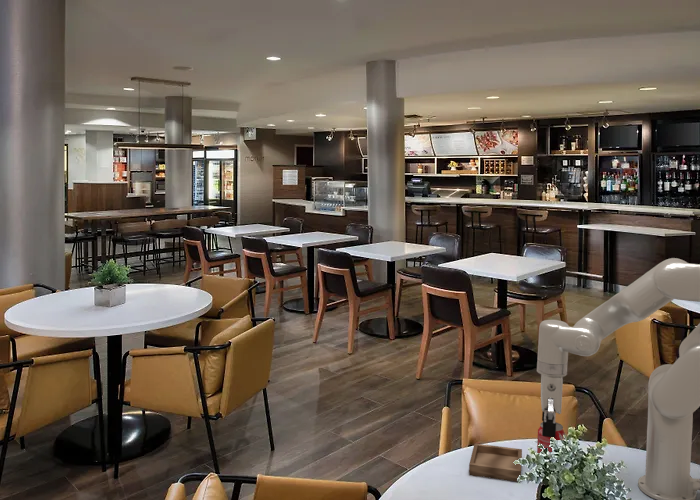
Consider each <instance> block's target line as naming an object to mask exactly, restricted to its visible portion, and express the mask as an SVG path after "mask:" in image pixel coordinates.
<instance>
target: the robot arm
mask: <svg viewBox="0 0 700 500" xmlns="http://www.w3.org/2000/svg"><path fill="white" fill-rule="evenodd" d="M673 300H679V301H687V302H696V303H700V263H699V264H698V263H689V262H687V261H685V259H684V260H683V259H680V258H677V257H676V258H675V257H671V258H670V257H669V258H668V259H665V260H663V261H661V262H659V263H658V264H656V265H655V266H654V267H652V268H651V269H650V270H648V271H646V272H645V273H644V274H643V275H641V276H640V277H639V278H637V279H636V280H635V281H633V282H632V283H630V284H629V285H627V286H626V287H625V288H623V289H622V290H620V291H619V292H617V293H616V294H615V295H613V296H611V297H610V298H609V299H608V300H606V301H605V302H603V303H602V304H600V305H598V306H597V307H595V308H594V309H592V311H590V312H588V313H587V314H586V315H584V316H583V317H581V318H580V319H579V320H578V321H576V323H575V324H573V326H570V325H569V324H568V323H567V322H565V321H562V320H558V319H545V320H542V321H541V322H540V323H539V327H538V328H539V329H538V344H537V345H538V346H537V362H536V372H537V373H538V374H539V375H540V403H541V411H542V414H541V421H542V422H543V430H542V435H543V436H545V437H554V438H555V434H556V423H557V422H556V417H557V416H556V415H557V414H558V415H560V414H562V403H563V381H564V380H563V378H564V377H566V376H567V375H568V362H569V361H568V360H569V353H570V354H573V355H578V356H582V357H590V356H593V355H595V354H596V353H597V352H598V351H599V349H600V347H601V343H602V340H604V339H606V338H607V337H608V336H610V335H612V334H613V333H614V332H615V331H617V330H619V329H620V328H623V327H624V326H625V325H629V324H631V323H637V322H641V321H644V320H646V319H648V317H651V315H653V314H654V313H655V312H656V313H657V311H658V310H660V309H661V308H663V307H664V306H666V305H668V303H670V302H672V301H673ZM678 354H679V355H678V356H679V357H678V358H676V360H675V361H674V363H673V364H671V363H670V364H669V363H668V364H666V363H665V364H662V365H660V366H657V367H656V368H654V370H653V371H652V372H651V373H650V376H649V379H648V388H647V389H648V390H647V391H648V393H647V394H648V399H647V400H648V403H647V404H648V405H647V426H646V428H647V429H646V451H645V452H646V455H645V474H644V475H641V476H640V477H639V478H638V480H637V486H638V488H639V490H640V491H641V492H642V493H643V494H645V495H646V496H648V497H650V498H652V499H655V500H696V499H697V492H698V491H700V478H695V477H694V478H693V477H692V476H691V461H692V460H691V458H692V442H693V441H692V436H693V422H694V418H693V414H694V412H696V410H698V409H699V408H700V322H699V323H698V325H696V327H695V328H693V330H692V331H691V332H690V333H689V334H688V335H687V336H686V337H685V338H684V339H683V340H682V341H681V343H680V345H679V348H678Z"/></svg>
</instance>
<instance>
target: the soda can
mask: <svg viewBox="0 0 700 500" xmlns="http://www.w3.org/2000/svg"><path fill="white" fill-rule="evenodd" d="M542 430H543V421H542V422H540V426H539V427H538V429H537V439H536V440H537V441H536V443H537V446H536V454H537V453H540V452H541V451H542V449H540V448H538V445H539V443H540V444H542V445H543V446H544V448H548V451H549V452H552V448H551V447H549V445H550V438H551V437H545V436H543V435H542ZM563 435H565V436H566V432H565V430H564V425H562V424H561V423H559V422H556V434H555V439H556V440H562V439H563Z"/></svg>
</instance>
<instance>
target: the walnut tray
mask: <svg viewBox="0 0 700 500" xmlns="http://www.w3.org/2000/svg"><path fill="white" fill-rule="evenodd" d="M519 458H522V459H523V449H522V448H514V447H506V446H498V445H490V444H484V443H483V444H482V443H473V448H472V451H471V456H470V459H469V465H468V475H469V476H472V477H480V478H486V479H492V480H501V481H506V482H515V483H518V482H517V478H518V476H519V475H521V476H522V466H521V465H520V464H516V465H515V464H514V463H513V462H514V461H515V460H518V459H519Z"/></svg>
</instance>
